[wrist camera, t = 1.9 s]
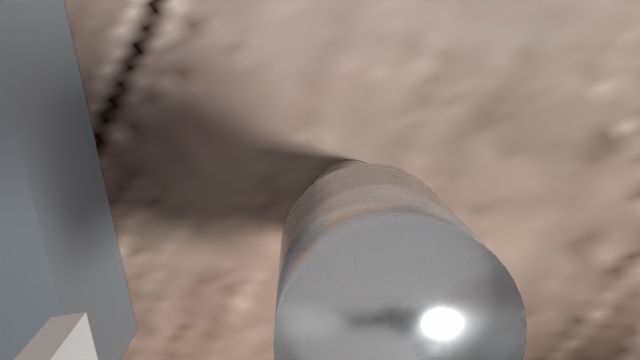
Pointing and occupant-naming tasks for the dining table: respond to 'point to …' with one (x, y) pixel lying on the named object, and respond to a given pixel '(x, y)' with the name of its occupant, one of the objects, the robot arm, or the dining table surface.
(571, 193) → the dining table surface
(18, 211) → the slate block
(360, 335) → the steel pin
